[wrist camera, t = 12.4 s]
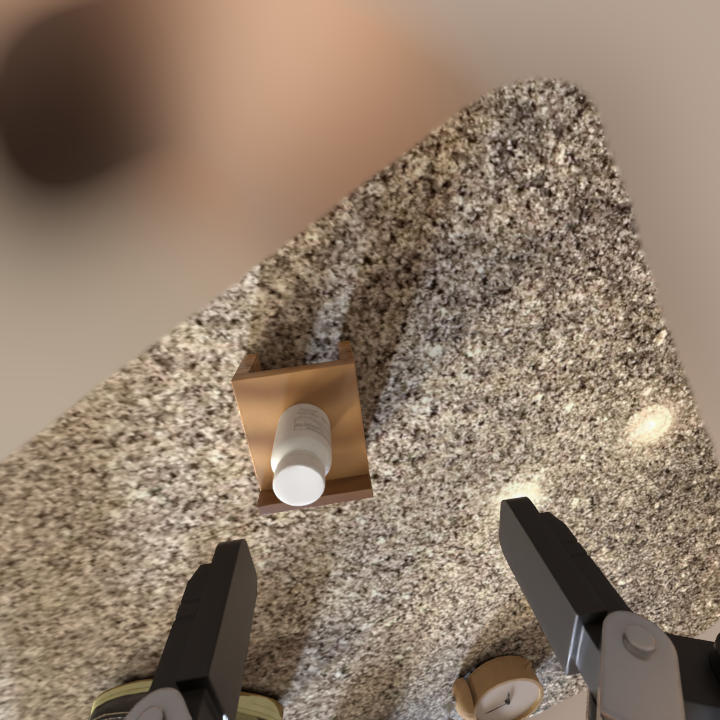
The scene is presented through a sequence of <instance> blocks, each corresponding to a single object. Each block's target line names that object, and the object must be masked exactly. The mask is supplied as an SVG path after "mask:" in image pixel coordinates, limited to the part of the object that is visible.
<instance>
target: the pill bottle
mask: <svg viewBox="0 0 720 720" xmlns="http://www.w3.org/2000/svg"><path fill="white" fill-rule="evenodd" d="M331 462H332V450H331V430H330V422H329V419H328V416H327V415H326V413H325V412H324V411H323V410H322V409H320V408H319V407H317V406H315V405H312V404H304V403H301V404H296V405H294V406H291V407H289V408H288V409H287V410H285V411H284V412H283V413H282V415H281V416H280V418H279V421H278V426H277V430H276V435H275V440H274V445H273V450H272V455H271V466H272V470H273V472H274V479H273V490H274V492H275V494H276V496H277V497H278V498H279V499H280V500H281V501H282V502H284V503H286V504H289V505H293V506H303V505H308V504H311V503H313V502H314V501H316V500H317V499H318V498H319V497H320V496H321V495H322V493H323V492H324V488H325V476H326V475H327V474H328V472H329V470H330V467H331Z"/></svg>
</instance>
